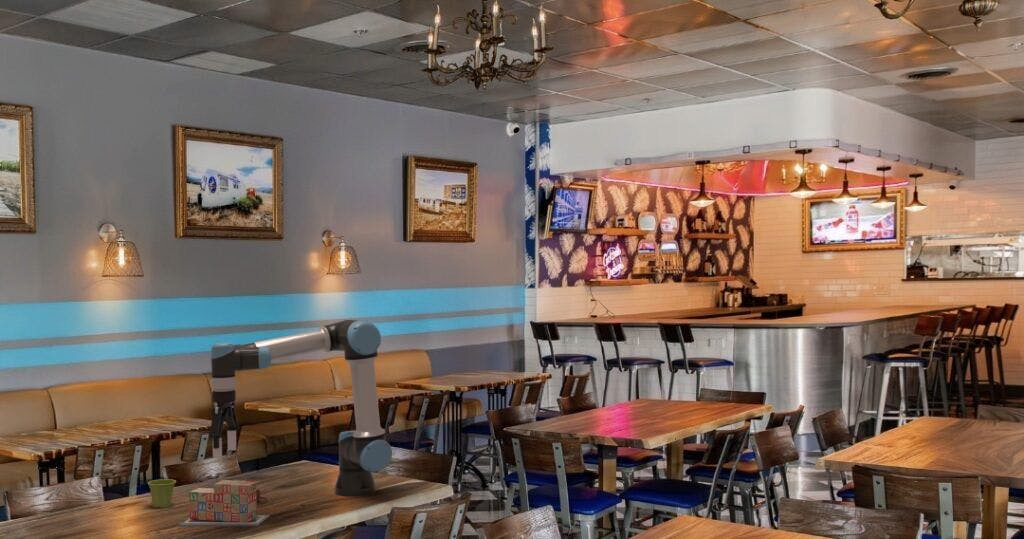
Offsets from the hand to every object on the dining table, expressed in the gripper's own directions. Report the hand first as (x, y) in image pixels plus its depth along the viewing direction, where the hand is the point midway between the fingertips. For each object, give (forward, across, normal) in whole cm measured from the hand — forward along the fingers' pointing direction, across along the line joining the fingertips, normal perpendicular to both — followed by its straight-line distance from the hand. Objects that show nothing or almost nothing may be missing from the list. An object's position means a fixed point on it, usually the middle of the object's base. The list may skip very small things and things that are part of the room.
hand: (224, 454), depth 322 cm
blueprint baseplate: (+23, 0, 0) cm, 23 cm away
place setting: (+24, -30, -3) cm, 38 cm away
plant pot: (+23, -22, -31) cm, 45 cm away
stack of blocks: (+22, 0, -1) cm, 22 cm away
